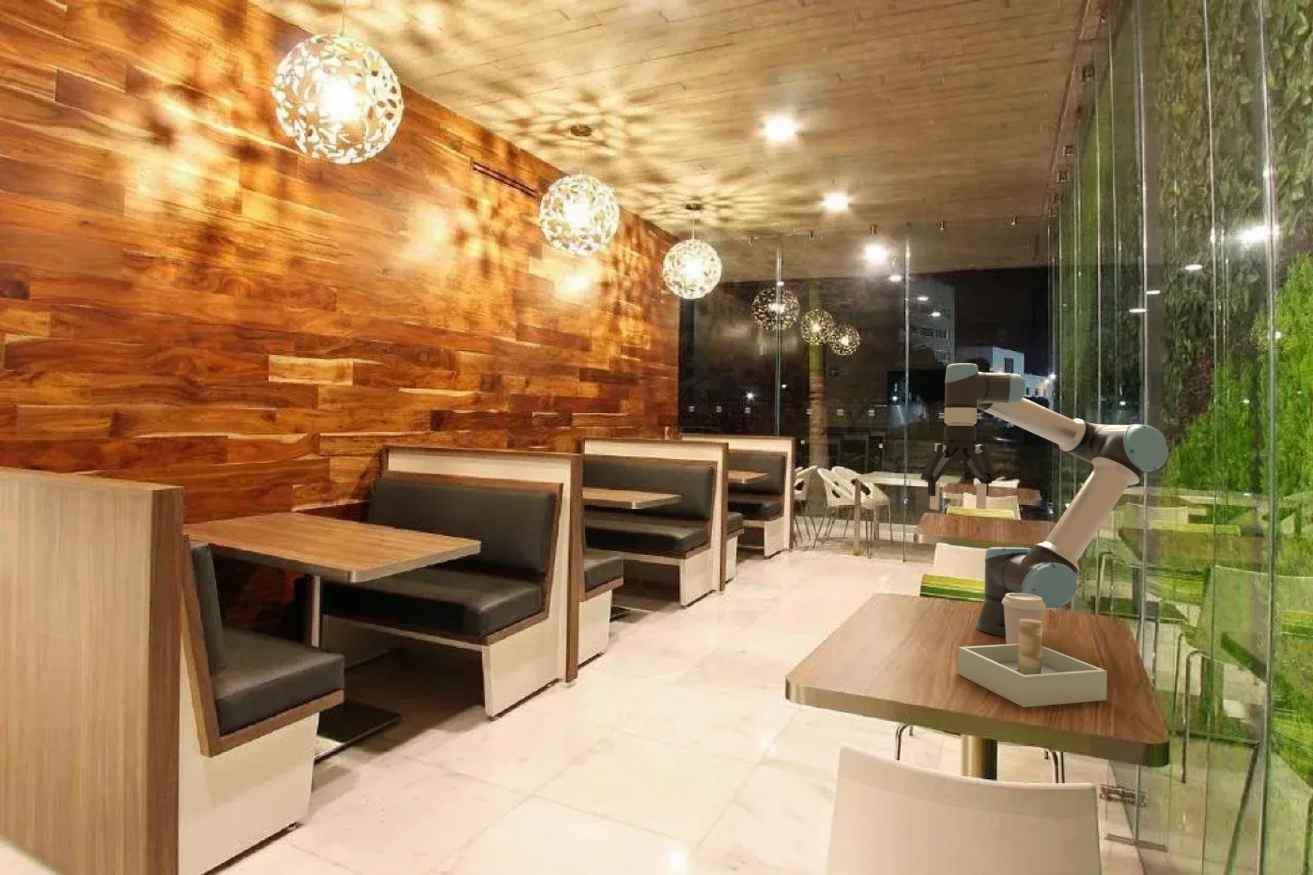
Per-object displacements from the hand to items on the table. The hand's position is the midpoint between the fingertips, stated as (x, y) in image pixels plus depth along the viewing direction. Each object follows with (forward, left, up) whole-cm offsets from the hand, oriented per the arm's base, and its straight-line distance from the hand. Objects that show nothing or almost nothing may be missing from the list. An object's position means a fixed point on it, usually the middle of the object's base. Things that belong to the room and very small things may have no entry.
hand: (957, 509), depth 185 cm
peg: (+3, +29, -35) cm, 45 cm away
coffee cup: (-10, +12, -35) cm, 38 cm away
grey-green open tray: (+3, +29, -35) cm, 45 cm away
